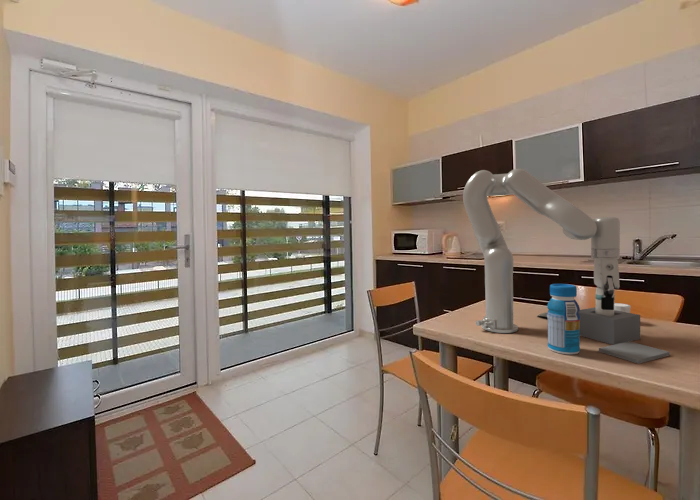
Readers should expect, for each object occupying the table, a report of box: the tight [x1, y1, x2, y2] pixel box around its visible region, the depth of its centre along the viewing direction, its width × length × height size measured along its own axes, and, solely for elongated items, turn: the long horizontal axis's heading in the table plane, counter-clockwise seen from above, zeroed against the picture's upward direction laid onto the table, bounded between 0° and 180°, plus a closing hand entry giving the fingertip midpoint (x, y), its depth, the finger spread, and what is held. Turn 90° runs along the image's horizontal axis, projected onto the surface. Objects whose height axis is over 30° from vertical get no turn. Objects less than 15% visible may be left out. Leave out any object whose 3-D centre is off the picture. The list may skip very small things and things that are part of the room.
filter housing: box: [578, 306, 641, 345], centre depth 108 cm, size 13×13×8 cm
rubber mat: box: [598, 341, 671, 364], centre depth 93 cm, size 14×10×1 cm
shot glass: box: [614, 302, 632, 313], centre depth 122 cm, size 7×7×7 cm
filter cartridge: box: [594, 287, 616, 316], centre depth 108 cm, size 5×5×14 cm
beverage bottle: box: [546, 283, 581, 355], centre depth 97 cm, size 8×8×20 cm
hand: (604, 307), depth 108 cm, fingers closed on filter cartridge, 5 cm apart
